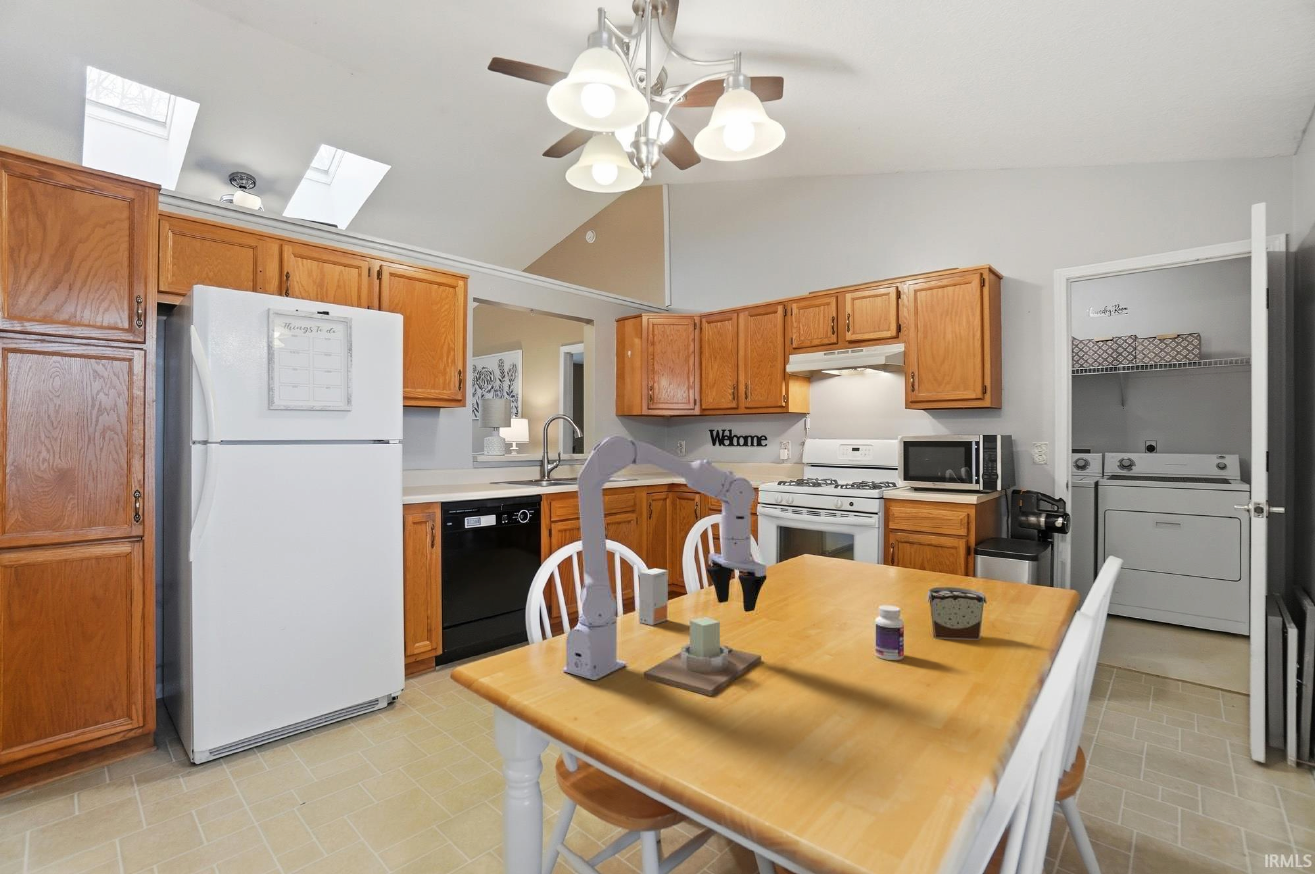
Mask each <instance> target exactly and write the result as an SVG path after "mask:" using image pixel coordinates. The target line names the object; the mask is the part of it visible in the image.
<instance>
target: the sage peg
mask: <svg viewBox="0 0 1315 874" xmlns="http://www.w3.org/2000/svg"><path fill="white" fill-rule="evenodd" d="M720 627H721V623H720V621H718V620H715V619H713V618H710V617H708V616H705V617H699V618H694V619H690V620H689V644H690V655H693V656H697V657H714V656H719V655H720V645H721V639H720V638H721V628H720Z"/></svg>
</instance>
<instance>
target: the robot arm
mask: <svg viewBox="0 0 1315 874" xmlns="http://www.w3.org/2000/svg"><path fill="white" fill-rule="evenodd" d="M712 464H713V462H712V461H711V460H709V459H704V460H700V459H698V460H695V461H693V462H688V461H686V460H684V459H682V458H680V457H677V456H675V455H673V454H671V453H669V452H667V451H664V450H663V449H660V448H658V447H656V446H654V445H652V444H649V443H647V442H642V441H638V440H635V439H628V438H627V437H624V436H621V435H610V436H607V437H605V438H604V439H602V440H601V441H600V442H599V443H598V444H596V445H595V446H594V447H593V448H592V451H591V452H590V454H589V456H588V458H587V459H586V461H585V463H584V465H583V466H582V468H581V469H580V472H579V473H578V475H577V493H578V494H577V495H578V509H579V521H580V524H579V525H580V535H581V549H582V562H583V585H582V589H581V591H580V595H579V596H580V598H579V599H580V602H581V605H582V606H581V608H582V610H581V611H582V612H581V614H580V615H579V616H578V622H577V625H575V626H574V628H572V629H571V630H570V631H569V632H568V633H567V635H566V657H565V658H566V659H565V660H566V661H565V662H566V663H565V665H566V666H565V667H563V668H562V671H563V672H565V673H568V674H571V675H574V676H575V675H576V676H579V677H581V678H585V679H589V680H592V681H597V680H598V679H601V678H603V677H605V676H607V675H608V674H611V673H613V672H615V671H616V670H619V669H620V668H623V667H624V666H626V665H627V662H626V661H624V660H619V659H618V658H617V657H618V656H617V653H618V650H617V649H618V647H617V644H618V642H617V640H618V639H617V637H618V636H617V629H618V628H617V626H618V625H617V624H618V623H617V622H618V621H617V620H618V618H617V616H616V612H617V609H618V607H617V601H616V599H615V597H614V596H613V590H612V588H611V583H610V575H609V571H608V555H607V553H608V552H607V540H606V525H605V510H604V498H603V497H604V496H603V487H604V486H605V485H606V483H608V482H609V480H610V479H611V478H612V477H613V476H614V475H616V474H617V473H620V472H621V471H623V470H625V469H627V468H628V467H630V465H634V466H639V465H641V466H642V465H650V466H654V467H655V468H659V469H661V470H664V471H667V472H668V473H670V474H671V473H672V474H673V475H677V476H679V477H681V478H684V481H685V483H686V486H687V487H688V488H690V489H692V490H695V491H697V492H700V493H702V494H704V495H707V496H709V497H711V498H714V499H719V500H720V501H721V554H720V553H711V554H708V564H709V565H711V566H709V567H707V568H706V571H707V573H708V575H709V576H710V579H711V581H712V583H713V587H714V590H715V595H716V599H717V602H718V603H719V604H722V603H727V602H729V598H730V583H731V578H732V574H733V570H735V571H739V572H744V573H743V574H739V575H738V580H739V583H740V586H741V590H742V601H743V602H742V604H743V605H742V606H743V610H744V612H745V613H748V612H752V611H755V608H756V604H757V601H758V597H759V594H760V591H761V589H762V587H763V585H764V583H765V581H766V580H767V577H768V576H767V565H765V564H762V563H761V562H760V563H759V562H758V561H755V560H754V558H753V557H752V556H751V551H752V550H751V548H752V547H751V546H752V545H751V541H752V540H751V539H752V538H751V536H752V535H751V533H752V532H751V529H752V528H751V524H752V523H751V521H752V519H751V517H752V516H751V505H752V503H753V502H754V500H755V499H756V498H755V497H756V491H754V490H755V489H754V487H753V484H752V483H751V482H750V481H749V480H748V479H747V478H746V477H745V478H744V477H741V476H736V474H735V475H734V471H732V470H730V469H727V471H726V470H724V469H722V468H719V467H717V466H714V465H712Z"/></svg>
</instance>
